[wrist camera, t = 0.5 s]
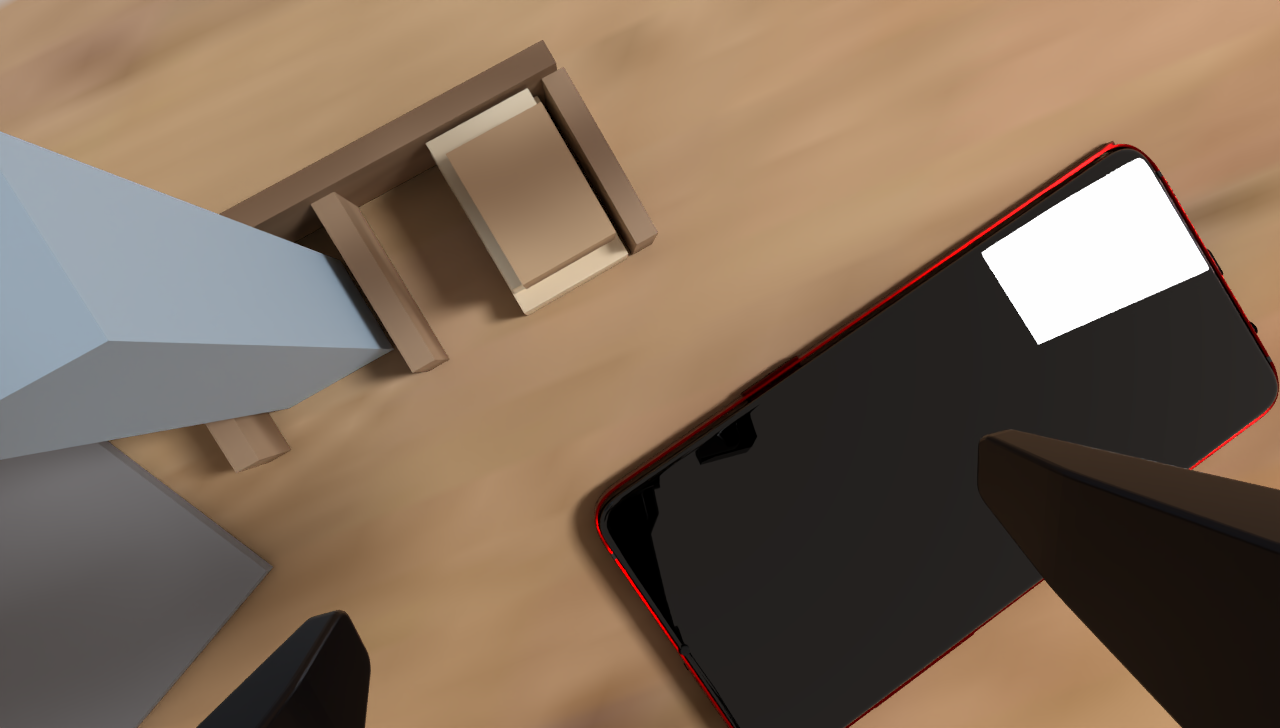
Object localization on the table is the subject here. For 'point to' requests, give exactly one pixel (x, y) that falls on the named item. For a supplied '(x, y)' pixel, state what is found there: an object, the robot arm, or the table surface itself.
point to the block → (154, 310)
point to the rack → (390, 161)
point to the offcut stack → (527, 200)
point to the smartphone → (930, 447)
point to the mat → (105, 588)
